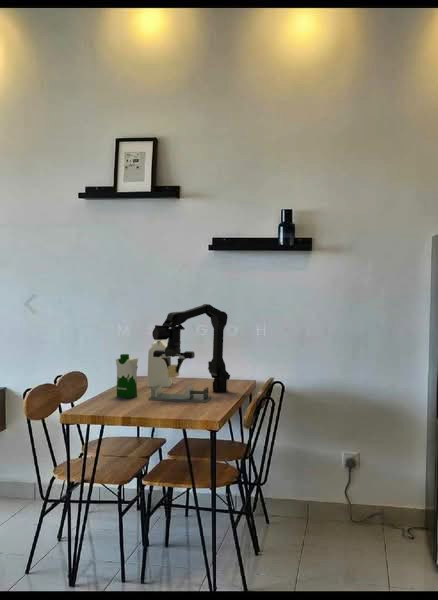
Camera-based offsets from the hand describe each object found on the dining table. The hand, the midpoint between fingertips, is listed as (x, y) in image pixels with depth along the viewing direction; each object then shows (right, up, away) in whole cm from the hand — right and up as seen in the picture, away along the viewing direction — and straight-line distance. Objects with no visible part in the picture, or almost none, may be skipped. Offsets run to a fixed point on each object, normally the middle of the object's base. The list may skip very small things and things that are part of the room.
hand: (173, 372), depth 288 cm
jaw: (+11, -11, -5) cm, 16 cm away
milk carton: (-22, -12, 0) cm, 25 cm away
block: (0, -2, 0) cm, 2 cm away
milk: (-10, -11, +33) cm, 36 cm away
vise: (+3, -12, -4) cm, 13 cm away
